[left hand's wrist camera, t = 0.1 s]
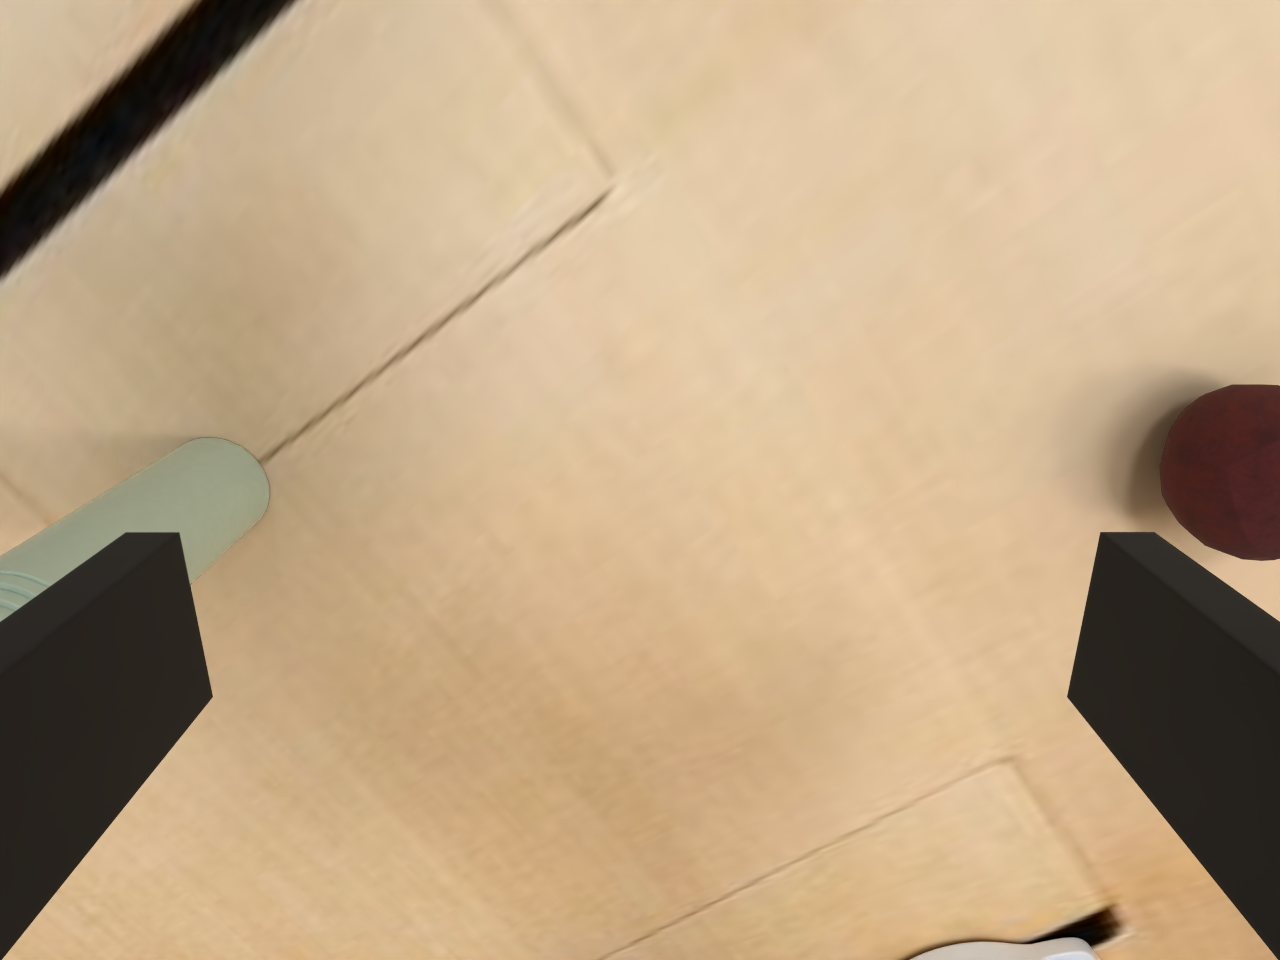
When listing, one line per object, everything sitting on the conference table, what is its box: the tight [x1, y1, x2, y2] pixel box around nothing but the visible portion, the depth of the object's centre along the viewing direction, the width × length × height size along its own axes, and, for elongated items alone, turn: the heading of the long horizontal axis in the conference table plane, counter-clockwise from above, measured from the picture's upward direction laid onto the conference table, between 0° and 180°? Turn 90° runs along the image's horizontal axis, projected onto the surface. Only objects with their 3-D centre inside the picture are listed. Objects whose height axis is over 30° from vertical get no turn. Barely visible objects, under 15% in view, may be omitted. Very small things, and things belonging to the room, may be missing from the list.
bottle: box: [0, 437, 270, 622], centre depth 32 cm, size 5×5×20 cm
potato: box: [1160, 385, 1280, 561], centre depth 37 cm, size 7×8×7 cm
